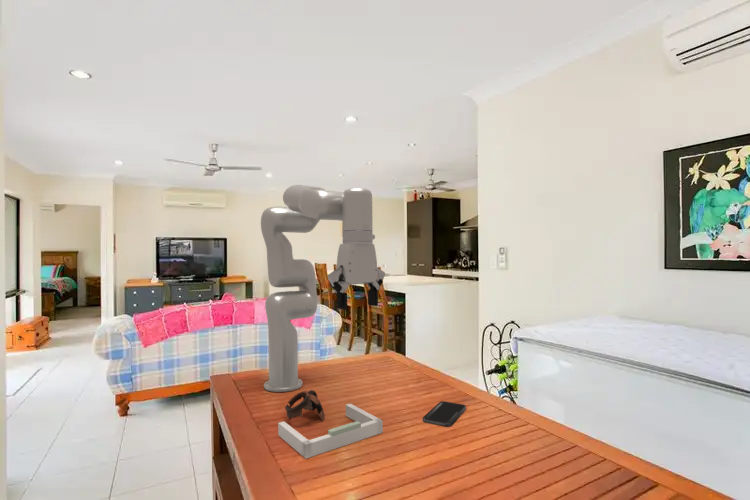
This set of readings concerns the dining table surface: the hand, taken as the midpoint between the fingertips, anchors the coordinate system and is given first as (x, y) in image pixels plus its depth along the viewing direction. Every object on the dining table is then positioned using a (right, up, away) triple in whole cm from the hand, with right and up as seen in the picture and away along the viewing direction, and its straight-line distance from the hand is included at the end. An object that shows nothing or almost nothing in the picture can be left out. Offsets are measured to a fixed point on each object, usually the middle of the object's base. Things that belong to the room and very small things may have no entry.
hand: (358, 307), depth 102 cm
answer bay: (-7, -31, -2) cm, 32 cm away
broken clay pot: (-14, -31, +8) cm, 35 cm away
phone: (+23, -31, +10) cm, 40 cm away
